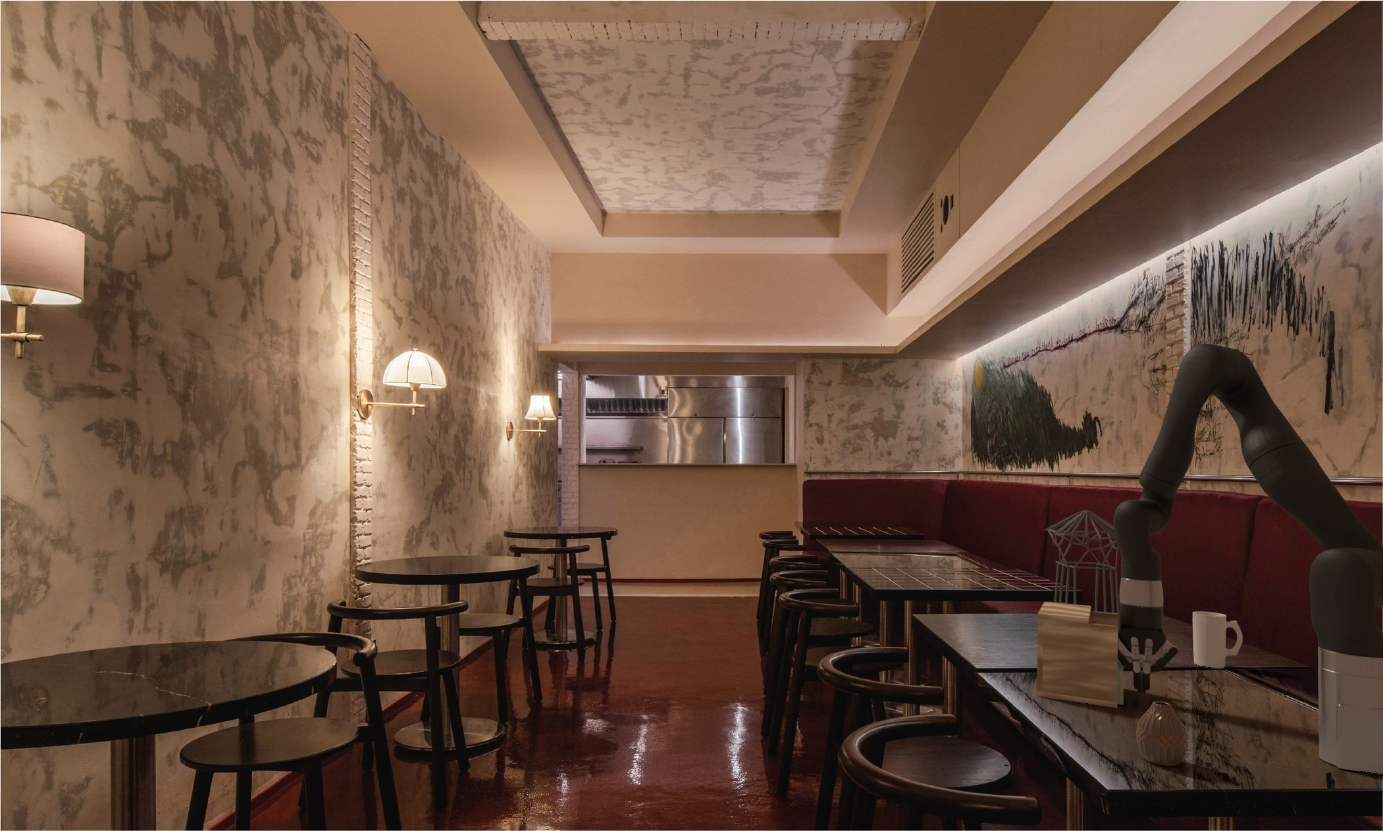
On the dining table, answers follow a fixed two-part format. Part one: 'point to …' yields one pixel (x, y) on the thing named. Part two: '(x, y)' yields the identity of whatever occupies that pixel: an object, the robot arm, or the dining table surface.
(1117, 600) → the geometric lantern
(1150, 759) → the vase
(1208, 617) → the mug
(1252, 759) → the dining table surface
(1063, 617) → the housing
